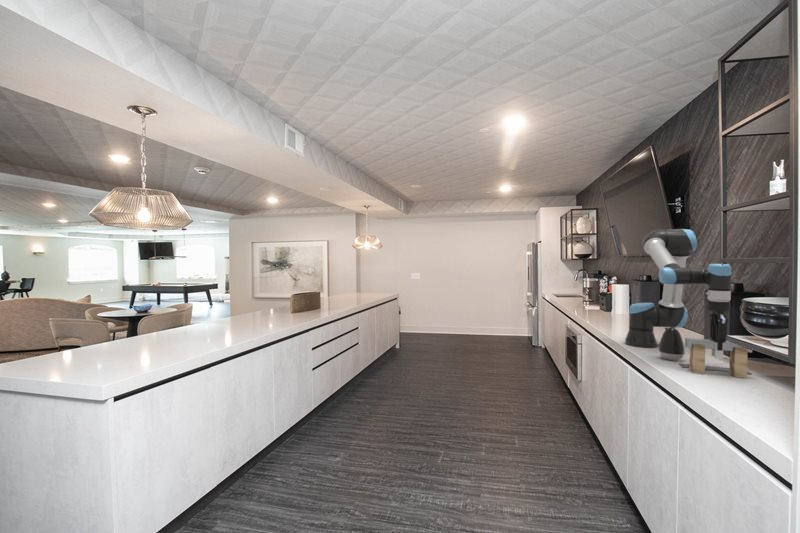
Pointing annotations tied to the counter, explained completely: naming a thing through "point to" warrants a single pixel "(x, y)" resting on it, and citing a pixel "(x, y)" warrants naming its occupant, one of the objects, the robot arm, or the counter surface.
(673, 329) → the black tapered rounded piece
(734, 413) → the counter surface
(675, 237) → the robot arm
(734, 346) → the rail
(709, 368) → the mat
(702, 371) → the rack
